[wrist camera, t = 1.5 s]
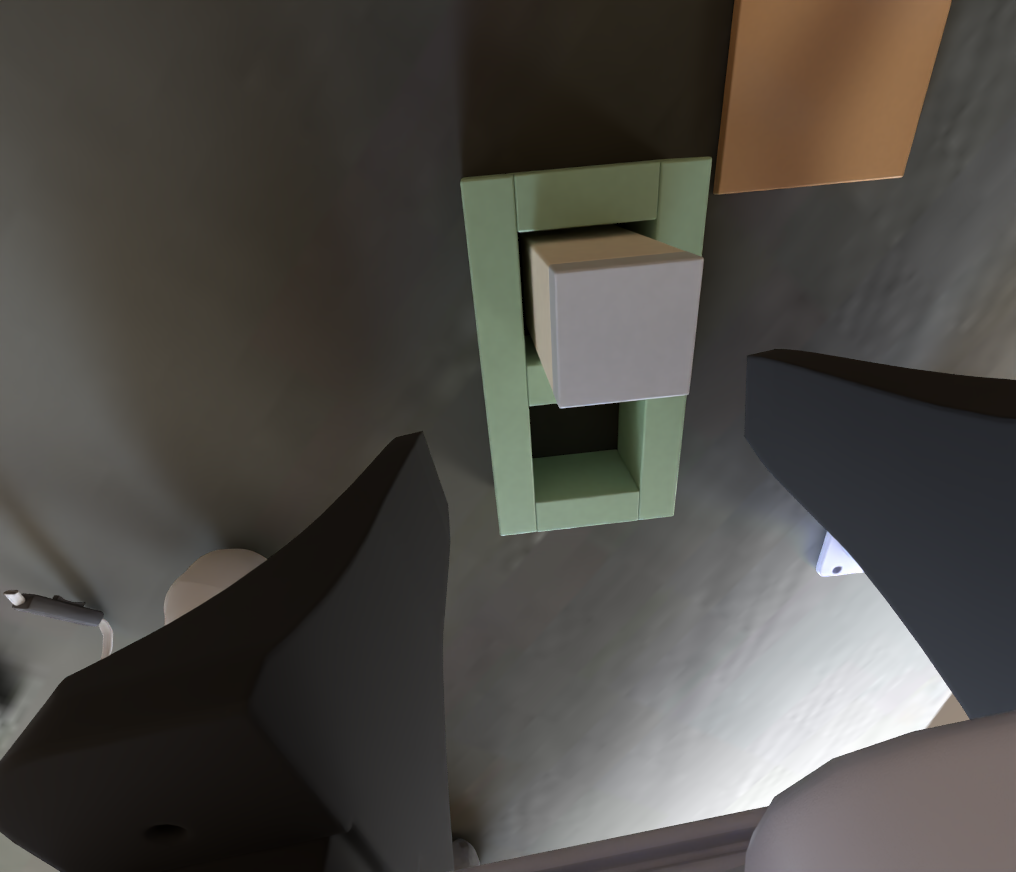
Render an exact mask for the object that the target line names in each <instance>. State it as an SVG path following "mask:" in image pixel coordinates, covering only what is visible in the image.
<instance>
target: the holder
mask: <svg viewBox="0 0 1016 872" xmlns="http://www.w3.org/2000/svg"><path fill="white" fill-rule="evenodd" d="M711 165H712V158H711V157H691V158H672V159H660V160H649V161H638V162H628V163H616V164H605V165H594V166H583V167H572V168H561V169H550V170H539V171H529V172H518V173H507V174H496V175H485V176H474V177H463V178H461V181H460V185H461V194H462V203H463V212H464V221H465V230H466V238H467V247H468V256H469V265H470V274H471V283H472V292H473V300H474V309H475V318H476V327H477V336H478V345H479V353H480V362H481V371H482V380H483V389H484V398H485V406H486V415H487V424H488V433H489V442H490V451H491V459H492V468H493V477H494V486H495V495H496V504H497V512H498V521H499V530H500V535H501V536H503V535H512V534H521V533H530V532H536V531H538V532H540V531H548V530H557V529H566V528H575V527H583V526H592V525H601V524H610V523H618V522H627V521H636V520H637V519H639V520H642V519H651V518H660V517H669V516H673V515H674V508H675V498H676V489H677V480H678V471H679V461H680V452H681V443H682V434H683V424H684V415H685V406H686V397H687V395H682V396H672V397H663V398H654V399H644V400H635V401H626V402H619V422H618V451H617V450H616V449H614V450H605V451H596V452H587V453H578V454H569V455H560V456H551V457H541V458H532V447H531V432H530V417H529V406H536V405H546V404H555V403H557V402H556V399H555V397H554V394H553V391H552V388H551V386H550V383H549V381H548V378H547V376H546V373H545V371H544V368H543V366H542V363H541V361H540V358H539V356H538V353H537V351H536V348H535V346H534V343H533V341H532V338H531V336H524V325H523V309H522V294H521V279H520V263H519V248H518V233H517V231H518V232H529V231H540V230H550V229H561V228H571V227H582V226H592V225H602V224H613V223H623V222H625V229H627V230H630V231H632V232H635V233H638V234H640V235H643V236H646V237H649V238H651V239H654V240H657V241H659V242H662V243H665V244H667V245H670V246H673V247H676V248H678V249H681V250H684V251H688V252H690V253H693V254H696V255H698V256H701V257H702V249H703V239H704V230H705V221H706V212H707V202H708V193H709V184H710V175H711Z"/></svg>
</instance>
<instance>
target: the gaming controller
mask: <svg viewBox="0 0 1016 872" xmlns="http://www.w3.org/2000/svg"><path fill="white" fill-rule="evenodd" d="M452 845H453V858H454V871H455V870H460V869H465V868H470V867H475V866H480V865H481V864H480V861H479V859H478V856H477V853H476V851H475V849H474V848H473V846H472V845H471V844H470V843H469V842H467V841H466V840H464V839H456V840H455V841H454V842H452Z"/></svg>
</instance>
